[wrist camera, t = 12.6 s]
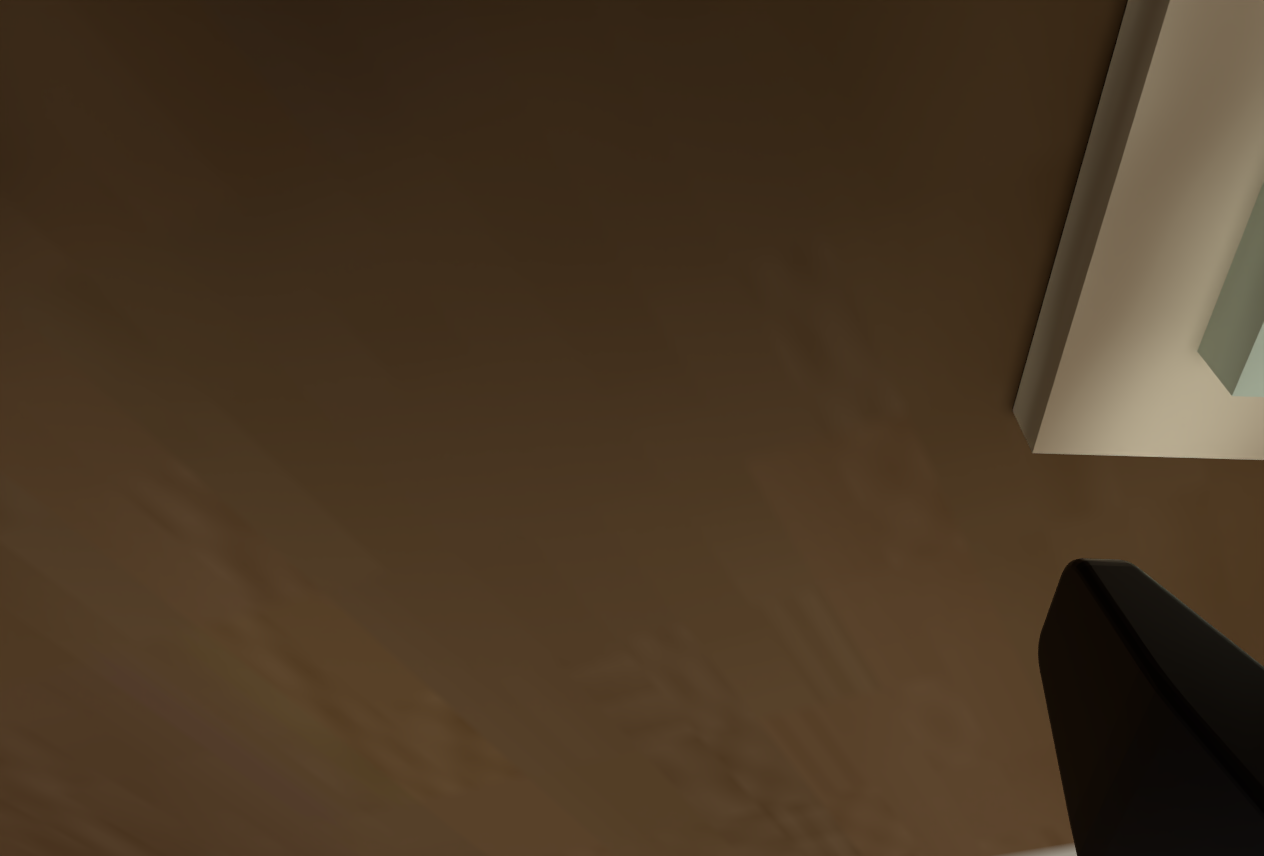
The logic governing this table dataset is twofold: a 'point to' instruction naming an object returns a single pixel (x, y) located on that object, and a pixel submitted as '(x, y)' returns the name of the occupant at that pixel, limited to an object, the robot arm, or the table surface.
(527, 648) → the table surface
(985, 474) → the table surface
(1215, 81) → the plinth
